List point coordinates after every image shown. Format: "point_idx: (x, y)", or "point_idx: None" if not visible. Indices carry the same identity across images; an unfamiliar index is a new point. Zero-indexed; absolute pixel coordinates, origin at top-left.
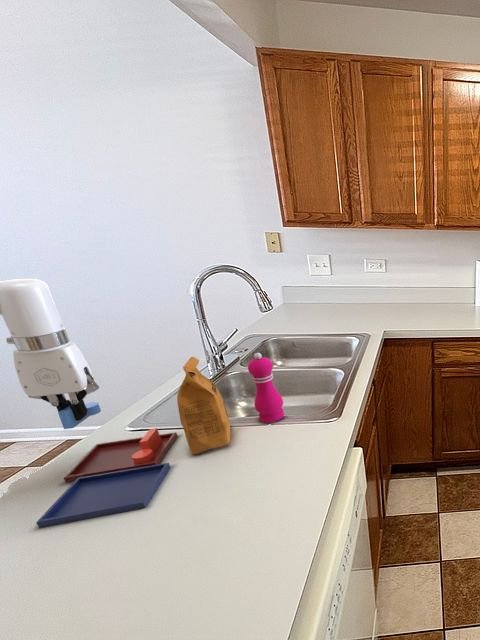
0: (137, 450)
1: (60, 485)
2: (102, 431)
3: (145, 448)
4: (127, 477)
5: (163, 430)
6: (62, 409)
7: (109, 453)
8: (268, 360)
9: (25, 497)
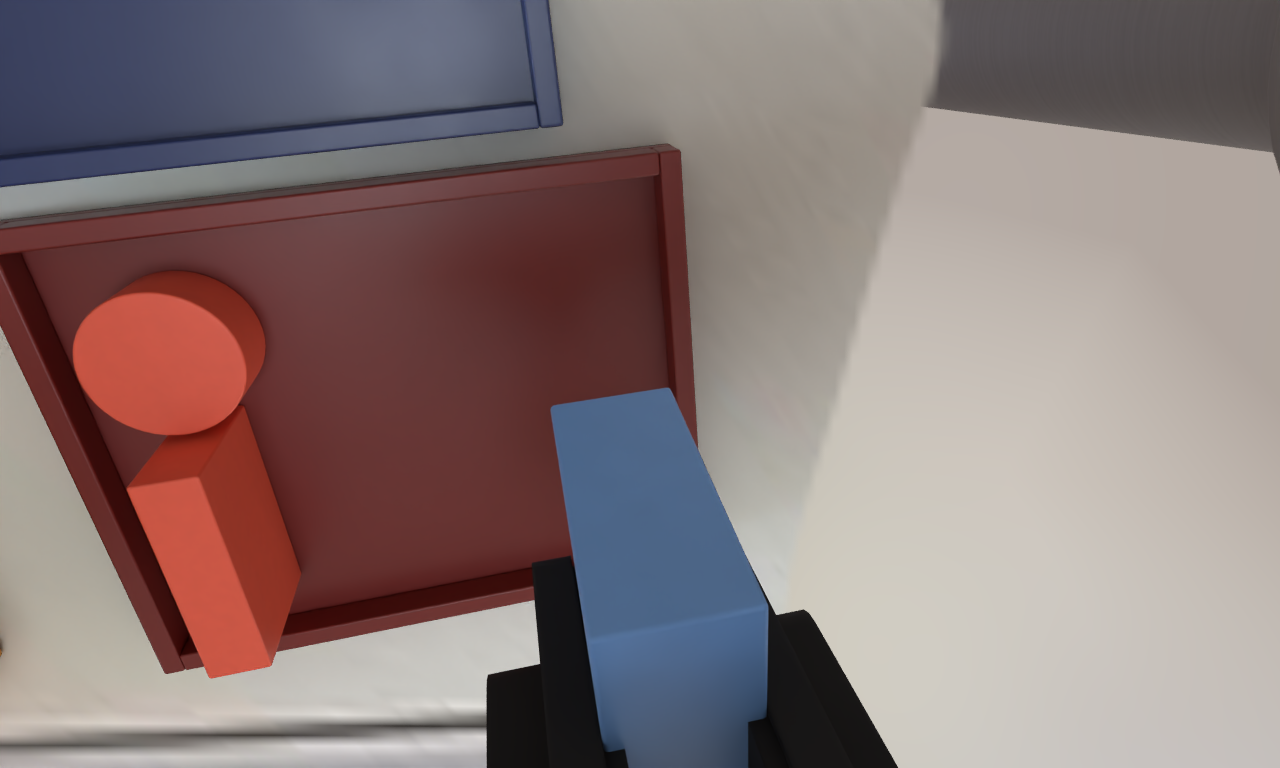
0: (368, 484)
1: (690, 119)
2: None
3: (193, 442)
4: (147, 87)
5: (370, 714)
6: (762, 721)
7: None
8: None
9: (852, 8)
